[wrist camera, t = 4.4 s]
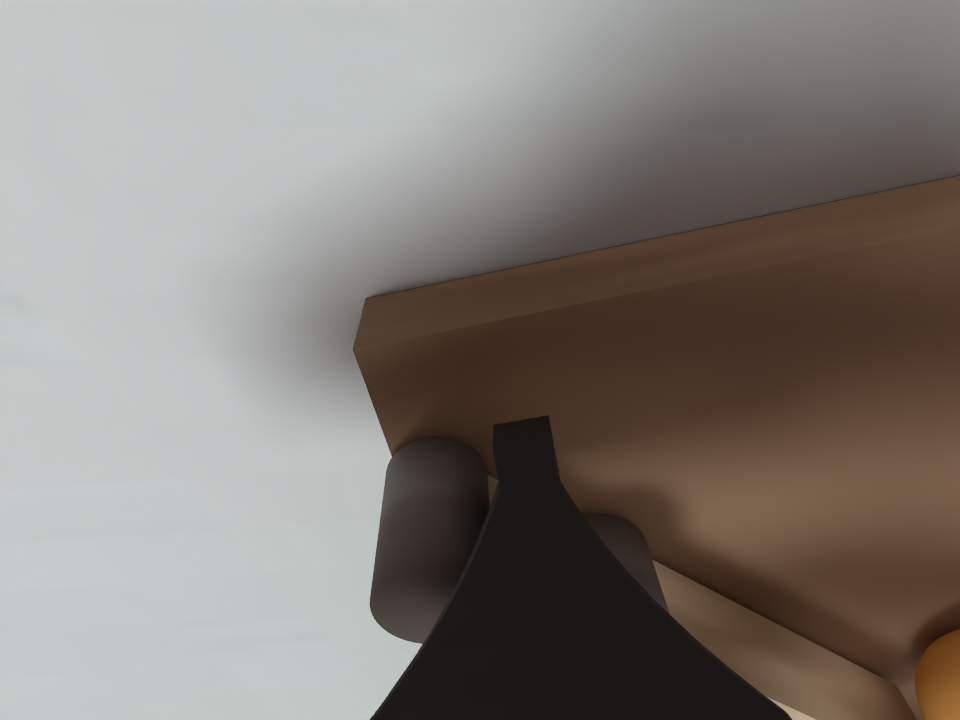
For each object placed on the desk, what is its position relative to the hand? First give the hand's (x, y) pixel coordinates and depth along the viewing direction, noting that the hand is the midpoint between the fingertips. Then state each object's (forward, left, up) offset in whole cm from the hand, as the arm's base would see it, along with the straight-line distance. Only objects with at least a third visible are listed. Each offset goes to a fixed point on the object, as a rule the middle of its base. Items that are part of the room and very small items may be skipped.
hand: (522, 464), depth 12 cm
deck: (-7, -4, -3) cm, 8 cm away
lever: (-5, -3, -1) cm, 6 cm away
